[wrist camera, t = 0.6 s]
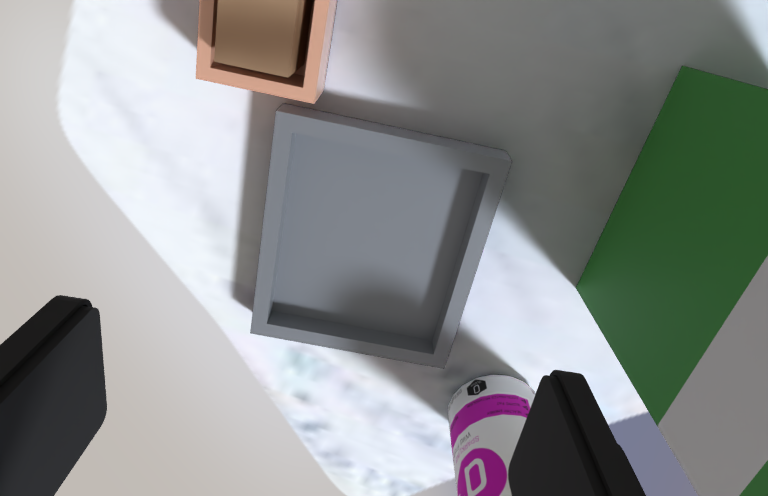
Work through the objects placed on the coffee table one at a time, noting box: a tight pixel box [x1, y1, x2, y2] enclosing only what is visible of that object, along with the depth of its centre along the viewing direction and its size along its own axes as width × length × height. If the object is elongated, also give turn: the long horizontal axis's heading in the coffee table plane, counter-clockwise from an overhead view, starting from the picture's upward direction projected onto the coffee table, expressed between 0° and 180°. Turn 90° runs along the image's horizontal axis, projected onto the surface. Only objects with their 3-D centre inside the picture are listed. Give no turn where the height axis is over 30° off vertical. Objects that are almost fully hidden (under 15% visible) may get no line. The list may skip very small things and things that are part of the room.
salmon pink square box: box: [196, 0, 337, 104], centre depth 32 cm, size 7×7×4 cm
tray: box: [250, 103, 512, 369], centre depth 40 cm, size 18×16×2 cm
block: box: [214, 0, 312, 78], centre depth 32 cm, size 4×4×6 cm
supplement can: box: [448, 375, 536, 496], centre depth 42 cm, size 8×8×15 cm
